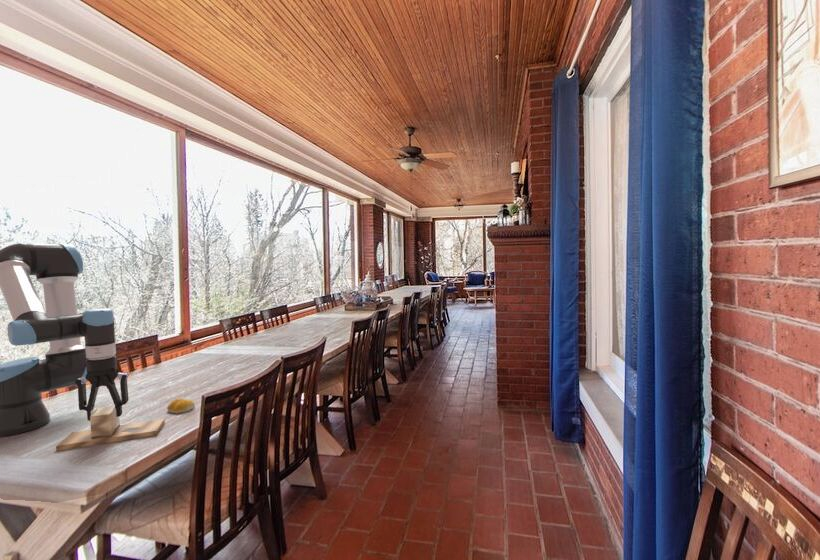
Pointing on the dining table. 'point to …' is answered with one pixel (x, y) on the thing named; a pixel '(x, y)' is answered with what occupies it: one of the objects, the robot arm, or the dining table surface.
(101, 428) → the block
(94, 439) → the oak plank
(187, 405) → the bread roll
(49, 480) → the dining table surface
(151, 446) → the dining table surface
